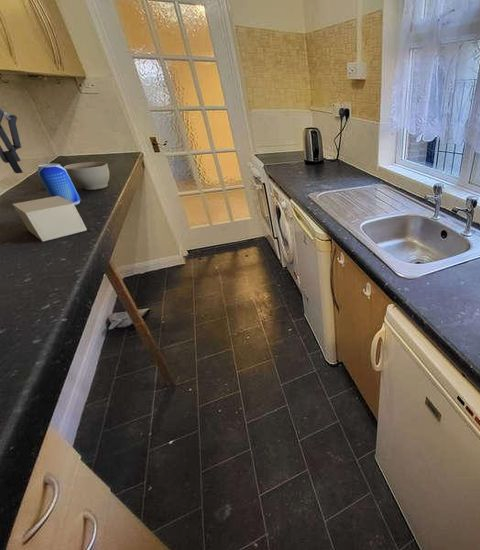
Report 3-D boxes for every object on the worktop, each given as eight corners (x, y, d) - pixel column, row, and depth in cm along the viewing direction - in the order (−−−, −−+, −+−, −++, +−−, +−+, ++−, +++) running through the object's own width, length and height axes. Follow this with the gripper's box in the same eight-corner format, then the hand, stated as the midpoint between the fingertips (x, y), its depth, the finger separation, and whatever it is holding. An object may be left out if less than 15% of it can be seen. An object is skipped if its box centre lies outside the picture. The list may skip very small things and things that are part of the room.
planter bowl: (72, 193, 138) (60, 169, 133) (78, 186, 150) (67, 163, 144) (114, 189, 146) (104, 166, 140) (117, 182, 157) (108, 160, 152)
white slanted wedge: (29, 231, 101) (12, 203, 96) (71, 221, 109) (58, 195, 104) (42, 241, 94) (25, 213, 89) (87, 230, 103) (73, 203, 98)
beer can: (57, 208, 120) (34, 168, 112) (54, 204, 125) (32, 165, 117) (83, 204, 126) (64, 165, 117) (80, 200, 130) (61, 162, 122)
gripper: (-2, 89, 92) (41, 167, 104) (-69, 88, 83) (-13, 174, 95) (5, 89, 88) (48, 170, 101) (-65, 88, 79) (-8, 177, 91)
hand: (18, 172), depth 98 cm, fingers closed
